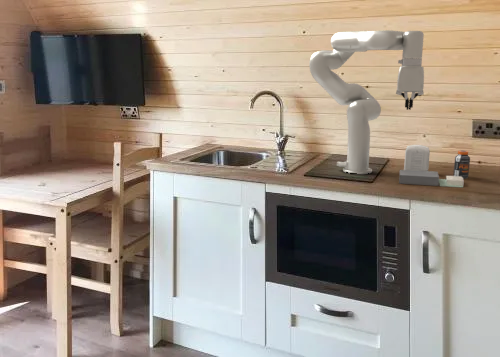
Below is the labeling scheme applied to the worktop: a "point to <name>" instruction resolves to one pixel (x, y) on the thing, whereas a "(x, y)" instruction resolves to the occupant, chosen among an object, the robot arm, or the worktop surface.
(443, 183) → the mat
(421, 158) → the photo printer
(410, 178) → the plate
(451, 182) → the tile
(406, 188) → the worktop surface
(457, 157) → the pill bottle
